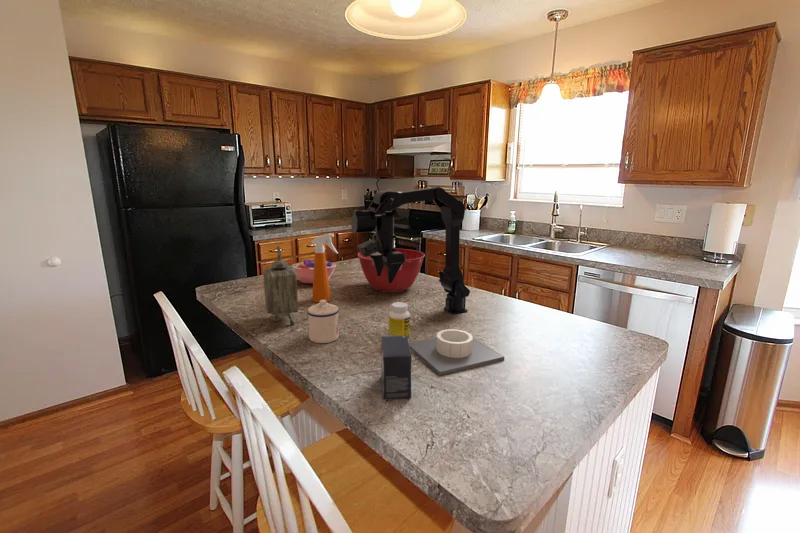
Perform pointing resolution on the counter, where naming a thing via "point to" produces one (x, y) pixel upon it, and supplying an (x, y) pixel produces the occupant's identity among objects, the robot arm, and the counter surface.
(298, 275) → the cell model
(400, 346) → the small box
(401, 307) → the pill bottle
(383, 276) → the mixing bowl
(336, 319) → the teacup with lid
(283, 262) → the tabletop clock
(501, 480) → the counter surface
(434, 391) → the counter surface
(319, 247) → the spray bottle
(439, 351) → the socket board
